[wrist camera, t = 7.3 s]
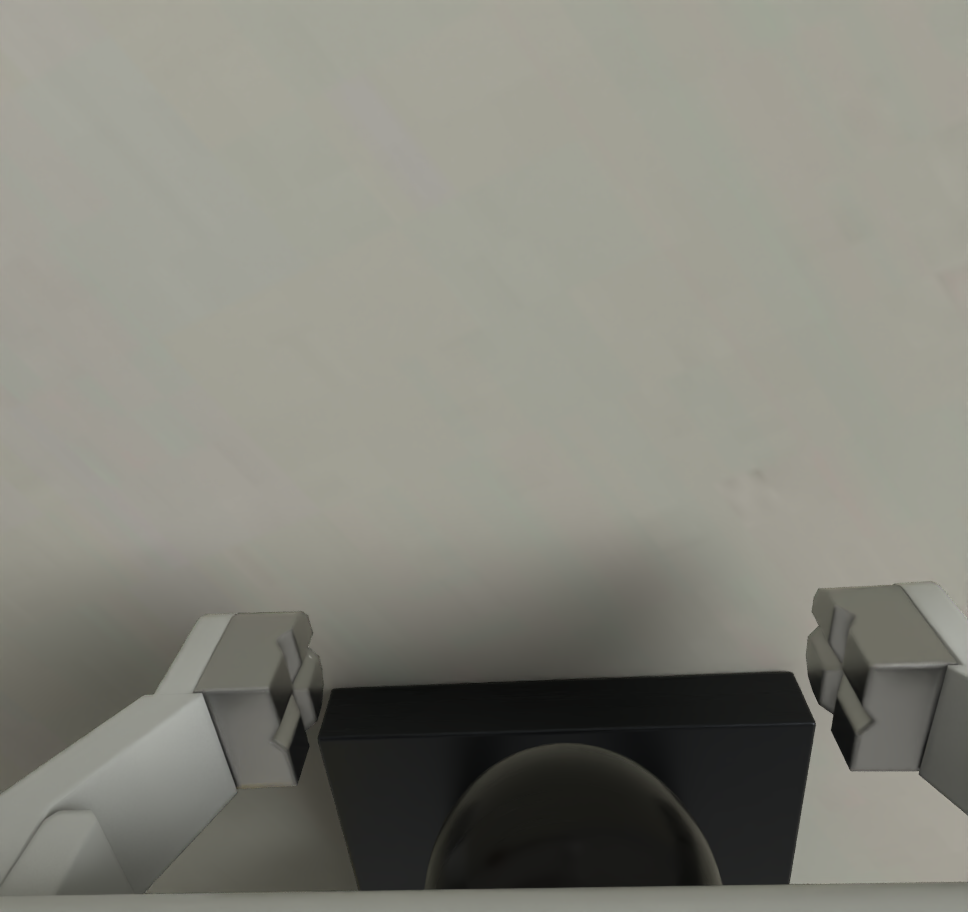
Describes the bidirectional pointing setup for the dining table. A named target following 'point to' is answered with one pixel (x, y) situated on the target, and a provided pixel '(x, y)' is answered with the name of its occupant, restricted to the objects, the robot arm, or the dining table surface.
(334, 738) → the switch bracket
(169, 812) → the robot arm
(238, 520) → the dining table surface
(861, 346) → the dining table surface
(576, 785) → the switch lever
